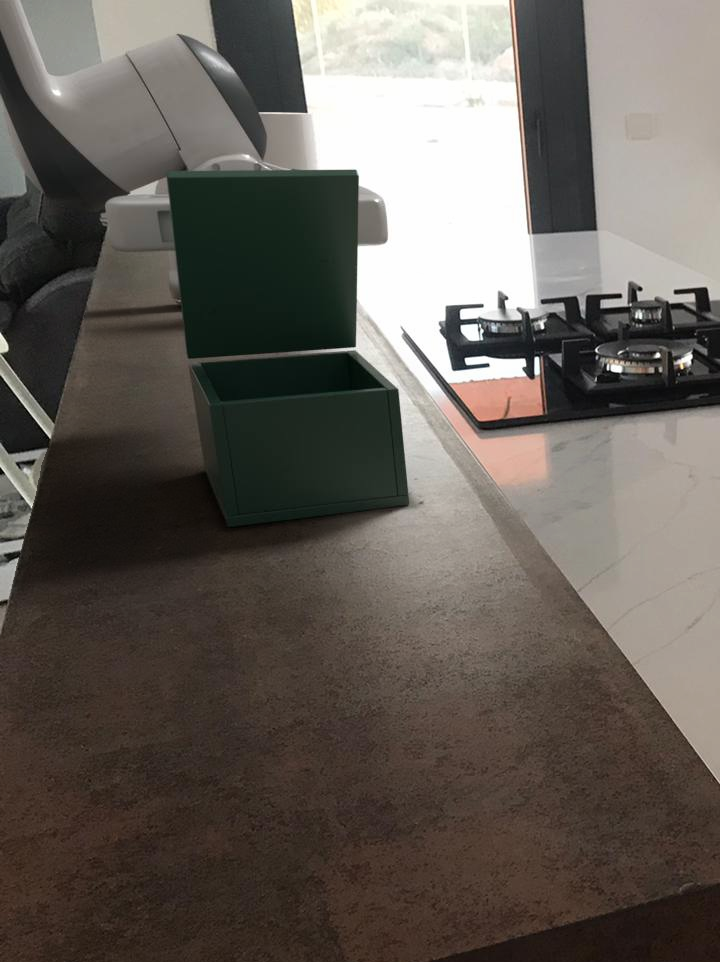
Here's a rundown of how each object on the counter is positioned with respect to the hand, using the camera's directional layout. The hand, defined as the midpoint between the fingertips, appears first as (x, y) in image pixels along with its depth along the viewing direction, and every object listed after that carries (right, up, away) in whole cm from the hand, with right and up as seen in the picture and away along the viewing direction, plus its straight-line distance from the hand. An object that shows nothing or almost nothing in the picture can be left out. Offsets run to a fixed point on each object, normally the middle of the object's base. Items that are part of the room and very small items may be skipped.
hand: (264, 231), depth 94 cm
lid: (0, -3, +1) cm, 3 cm away
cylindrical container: (-27, +11, +77) cm, 82 cm away
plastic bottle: (-42, +13, +80) cm, 91 cm away
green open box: (+1, -18, +5) cm, 19 cm away
